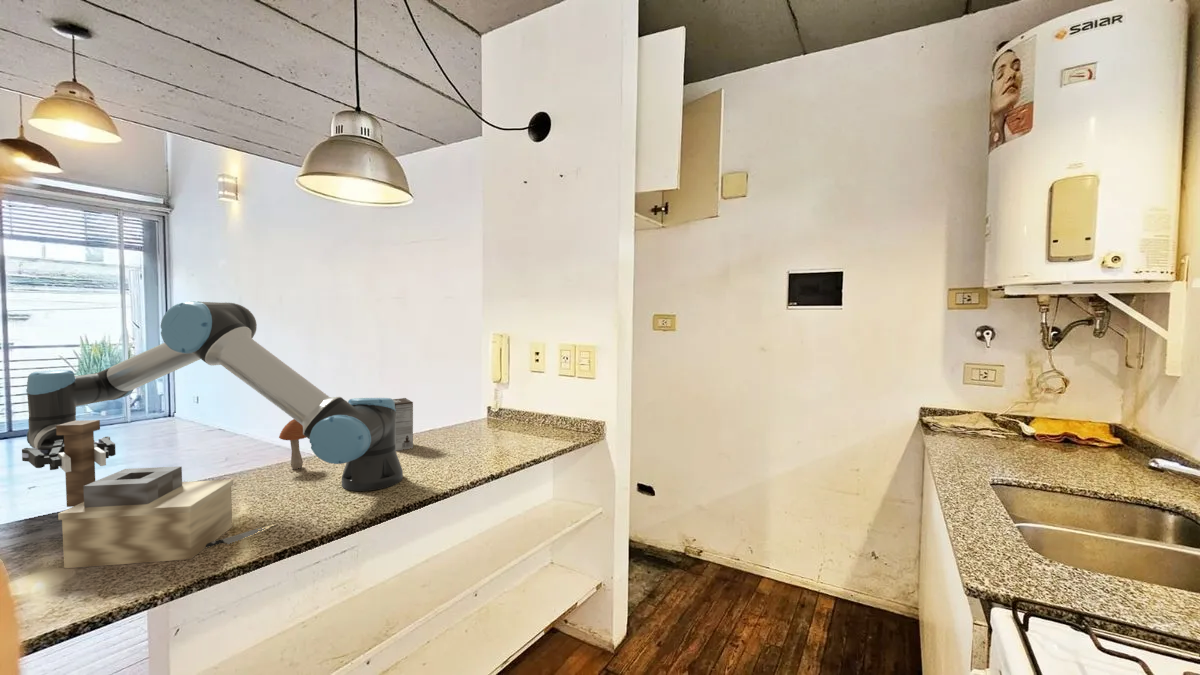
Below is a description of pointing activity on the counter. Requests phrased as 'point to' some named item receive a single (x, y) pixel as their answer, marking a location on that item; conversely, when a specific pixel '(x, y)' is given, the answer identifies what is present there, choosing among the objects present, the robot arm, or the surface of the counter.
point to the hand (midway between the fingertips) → (86, 462)
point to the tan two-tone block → (145, 518)
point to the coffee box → (403, 424)
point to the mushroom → (294, 441)
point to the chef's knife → (234, 537)
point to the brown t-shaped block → (79, 457)
